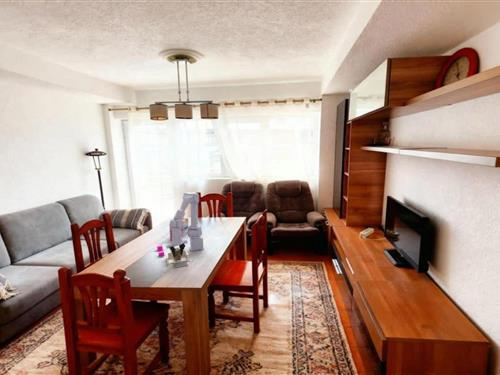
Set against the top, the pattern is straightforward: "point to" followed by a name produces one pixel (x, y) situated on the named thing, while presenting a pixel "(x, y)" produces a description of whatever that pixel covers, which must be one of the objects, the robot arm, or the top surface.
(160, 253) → the toy block
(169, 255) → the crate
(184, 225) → the gum box
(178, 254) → the walnut block
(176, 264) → the mat
